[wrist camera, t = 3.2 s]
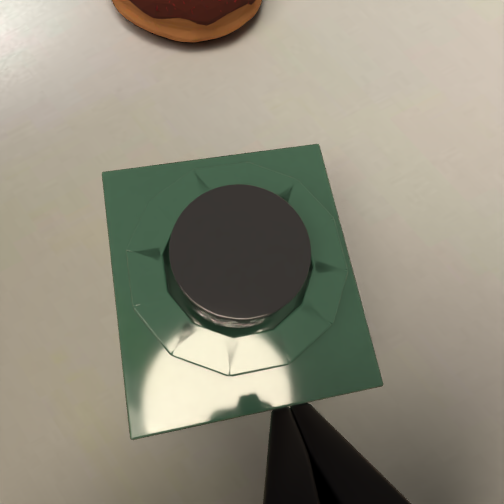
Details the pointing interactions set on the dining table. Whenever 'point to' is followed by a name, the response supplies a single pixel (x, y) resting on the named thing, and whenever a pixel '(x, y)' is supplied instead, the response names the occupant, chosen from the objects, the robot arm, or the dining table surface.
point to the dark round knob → (239, 255)
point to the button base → (221, 337)
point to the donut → (188, 17)
